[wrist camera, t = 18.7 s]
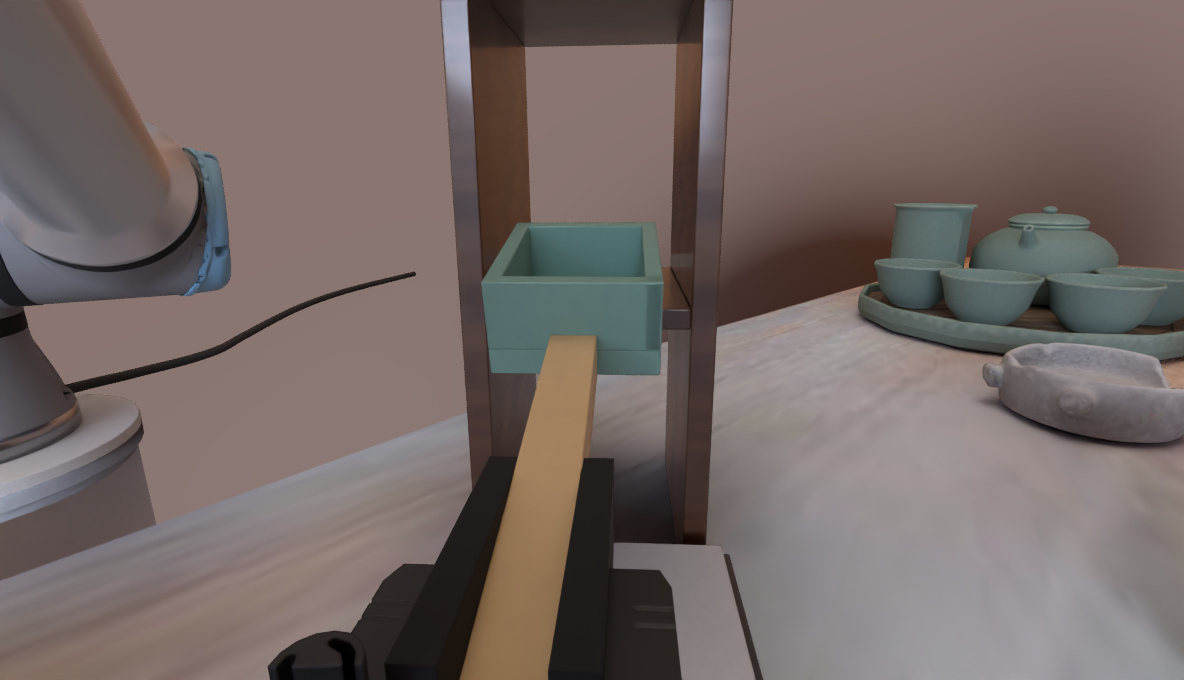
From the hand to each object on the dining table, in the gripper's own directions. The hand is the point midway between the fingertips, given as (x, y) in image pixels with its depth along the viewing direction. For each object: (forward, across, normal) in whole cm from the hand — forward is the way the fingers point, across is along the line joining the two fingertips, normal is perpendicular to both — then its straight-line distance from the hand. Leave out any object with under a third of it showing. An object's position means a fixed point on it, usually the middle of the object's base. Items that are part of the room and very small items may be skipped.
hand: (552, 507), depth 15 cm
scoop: (+3, 0, +1) cm, 3 cm away
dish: (+38, +42, -12) cm, 58 cm away
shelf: (+21, 0, -12) cm, 24 cm away
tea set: (+72, +57, -12) cm, 92 cm away
